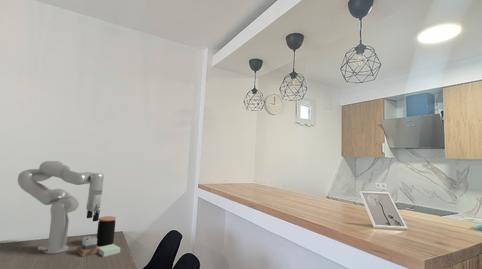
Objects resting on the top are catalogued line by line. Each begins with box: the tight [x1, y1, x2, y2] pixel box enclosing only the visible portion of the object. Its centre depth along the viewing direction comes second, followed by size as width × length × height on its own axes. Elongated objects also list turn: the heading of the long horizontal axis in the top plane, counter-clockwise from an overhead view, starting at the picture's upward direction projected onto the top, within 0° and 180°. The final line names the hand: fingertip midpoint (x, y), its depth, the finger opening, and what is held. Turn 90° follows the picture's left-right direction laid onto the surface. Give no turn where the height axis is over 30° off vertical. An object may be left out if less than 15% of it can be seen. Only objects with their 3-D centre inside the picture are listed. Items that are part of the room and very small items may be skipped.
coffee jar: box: [96, 215, 117, 247], centre depth 176 cm, size 11×11×18 cm
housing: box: [81, 234, 97, 250], centre depth 161 cm, size 6×6×7 cm
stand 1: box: [76, 245, 99, 258], centre depth 160 cm, size 10×10×3 cm
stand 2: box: [97, 243, 121, 257], centre depth 162 cm, size 10×10×3 cm
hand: (92, 219), depth 162 cm, fingers open, 9 cm apart
